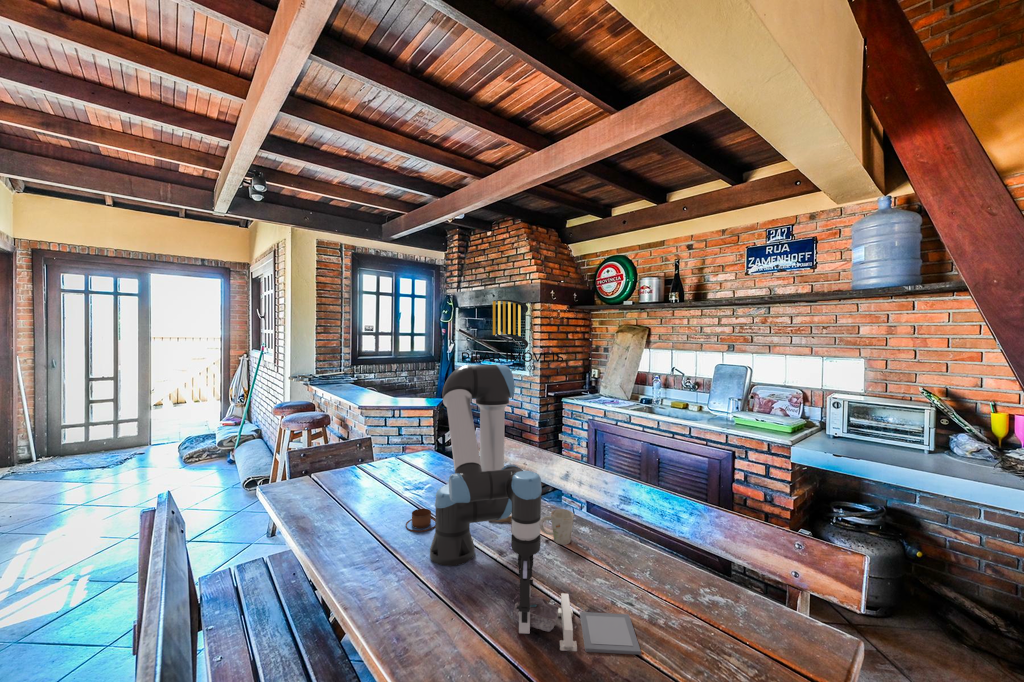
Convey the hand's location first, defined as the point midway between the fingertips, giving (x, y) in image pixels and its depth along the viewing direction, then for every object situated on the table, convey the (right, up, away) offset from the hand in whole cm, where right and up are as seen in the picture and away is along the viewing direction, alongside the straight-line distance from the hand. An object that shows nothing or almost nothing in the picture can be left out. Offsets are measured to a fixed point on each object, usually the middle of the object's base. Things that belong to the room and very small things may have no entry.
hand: (524, 620), depth 107 cm
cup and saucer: (-39, -1, +54) cm, 67 cm away
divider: (+11, -1, -2) cm, 11 cm away
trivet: (+21, -1, -3) cm, 21 cm away
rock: (0, -1, +1) cm, 2 cm away
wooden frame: (-4, 0, +66) cm, 66 cm away
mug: (+13, -1, +45) cm, 47 cm away
